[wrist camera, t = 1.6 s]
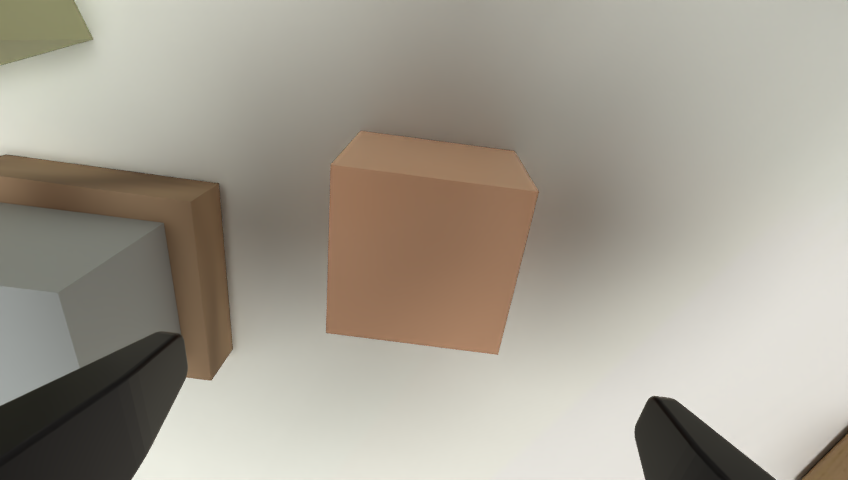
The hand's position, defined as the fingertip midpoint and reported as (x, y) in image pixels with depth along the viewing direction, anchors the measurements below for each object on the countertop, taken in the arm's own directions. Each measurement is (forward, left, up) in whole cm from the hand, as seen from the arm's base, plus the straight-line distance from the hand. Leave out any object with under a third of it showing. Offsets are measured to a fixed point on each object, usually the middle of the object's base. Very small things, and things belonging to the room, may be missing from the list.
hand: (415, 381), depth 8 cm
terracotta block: (0, 0, -9) cm, 9 cm away
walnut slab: (+12, +4, -10) cm, 16 cm away
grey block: (+12, +4, -7) cm, 14 cm away
